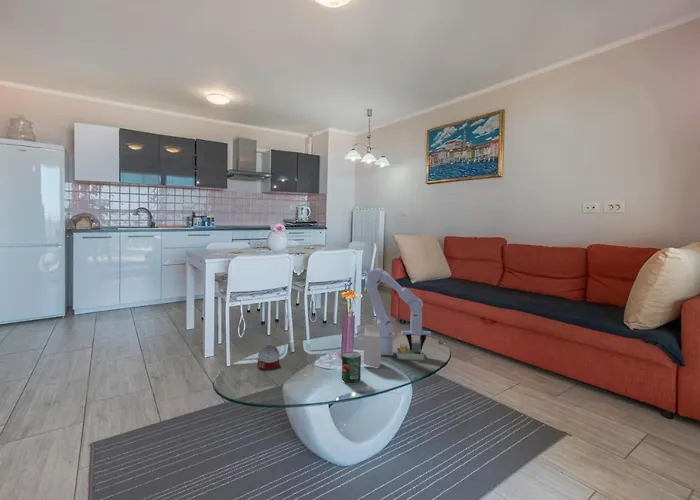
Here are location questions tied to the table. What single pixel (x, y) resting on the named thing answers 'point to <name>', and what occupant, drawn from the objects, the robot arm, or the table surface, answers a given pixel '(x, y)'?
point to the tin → (416, 347)
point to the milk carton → (372, 345)
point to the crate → (410, 355)
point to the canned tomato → (351, 367)
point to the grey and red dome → (268, 357)
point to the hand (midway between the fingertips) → (415, 349)
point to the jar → (403, 349)
